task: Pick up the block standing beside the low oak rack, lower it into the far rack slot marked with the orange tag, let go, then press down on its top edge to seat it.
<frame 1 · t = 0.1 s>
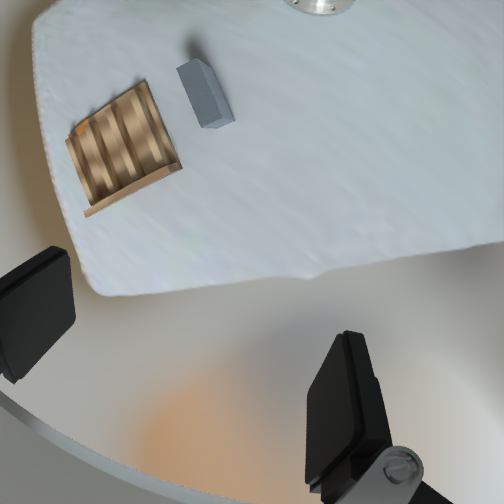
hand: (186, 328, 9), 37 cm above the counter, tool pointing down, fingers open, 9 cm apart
rack: (120, 148, 44), on the counter
block: (214, 98, 40), on the counter
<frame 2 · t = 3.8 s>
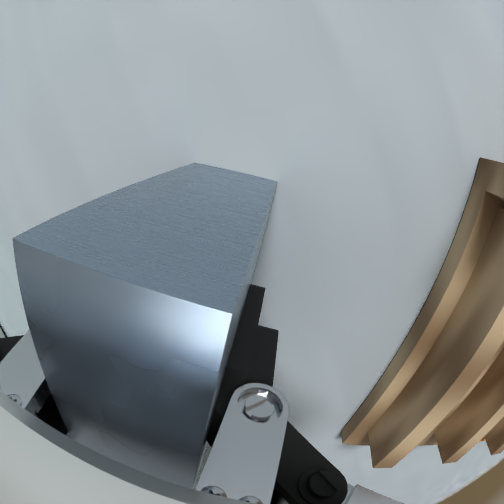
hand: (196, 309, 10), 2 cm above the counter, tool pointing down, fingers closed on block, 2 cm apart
block: (212, 282, 12), on the counter, touching gripper
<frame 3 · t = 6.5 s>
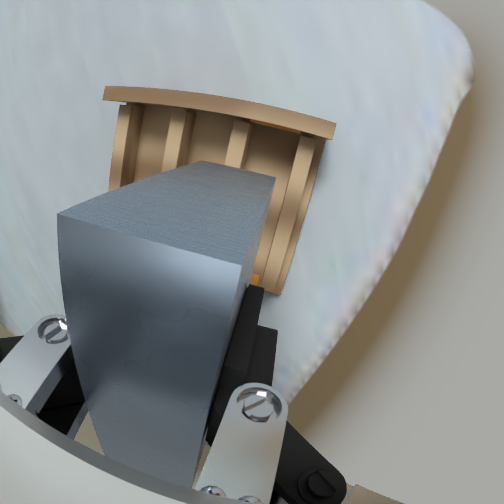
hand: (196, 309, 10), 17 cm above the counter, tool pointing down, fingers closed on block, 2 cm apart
rack: (206, 188, 26), on the counter
block: (217, 270, 13), point 14 cm above the counter, touching gripper
when the fingers open (4 cm above the counter, at t = 9.3 s): block stays where it is, resting on rack.
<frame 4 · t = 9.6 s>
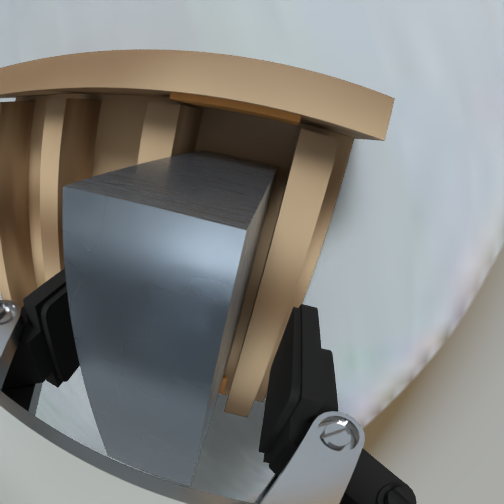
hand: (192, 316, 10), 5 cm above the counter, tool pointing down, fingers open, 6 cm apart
rack: (129, 234, 14), on the counter
block: (218, 260, 13), point 1 cm above the counter, touching rack
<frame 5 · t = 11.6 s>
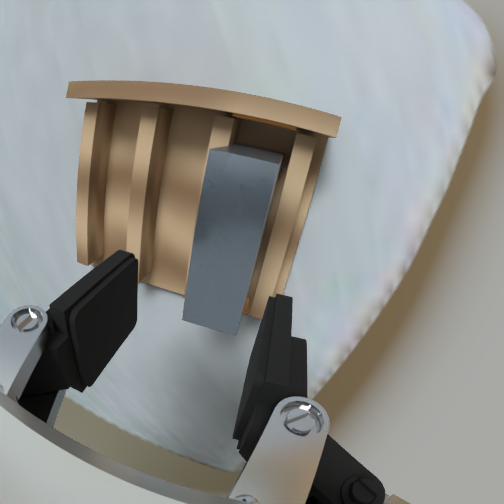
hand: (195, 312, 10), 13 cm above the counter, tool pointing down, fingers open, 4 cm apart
rack: (186, 197, 22), on the counter
block: (248, 210, 21), point 1 cm above the counter, touching rack
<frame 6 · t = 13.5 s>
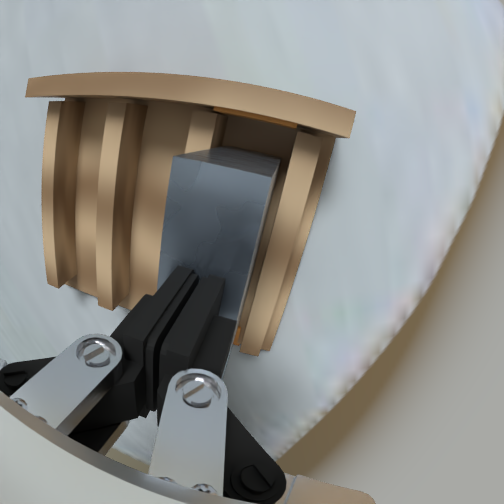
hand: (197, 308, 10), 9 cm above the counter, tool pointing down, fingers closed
rack: (165, 210, 19), on the counter
block: (237, 227, 17), point 1 cm above the counter, touching gripper, rack
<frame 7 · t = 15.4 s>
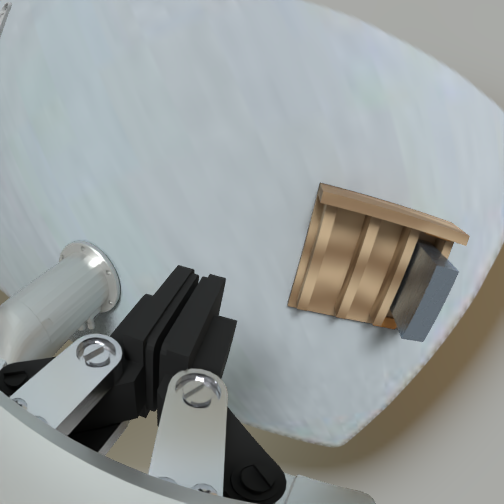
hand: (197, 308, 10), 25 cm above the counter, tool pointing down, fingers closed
rack: (372, 263, 35), on the counter
block: (409, 272, 34), point 1 cm above the counter, touching rack
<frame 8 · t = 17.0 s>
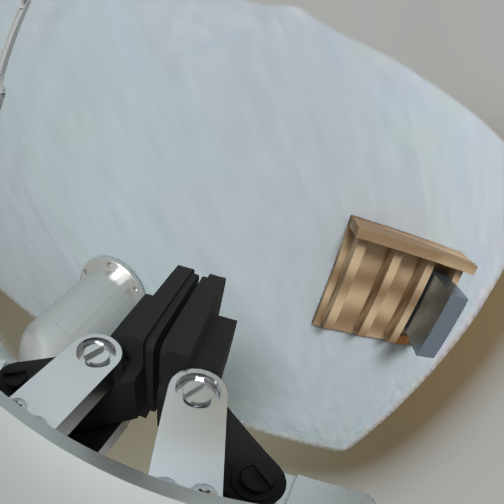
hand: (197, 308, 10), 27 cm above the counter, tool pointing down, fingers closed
adjustable wrench: (10, 56, 31), on the counter
rack: (390, 287, 38), on the counter
block: (421, 295, 37), point 1 cm above the counter, touching rack
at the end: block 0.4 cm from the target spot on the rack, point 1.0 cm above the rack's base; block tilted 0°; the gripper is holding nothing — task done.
